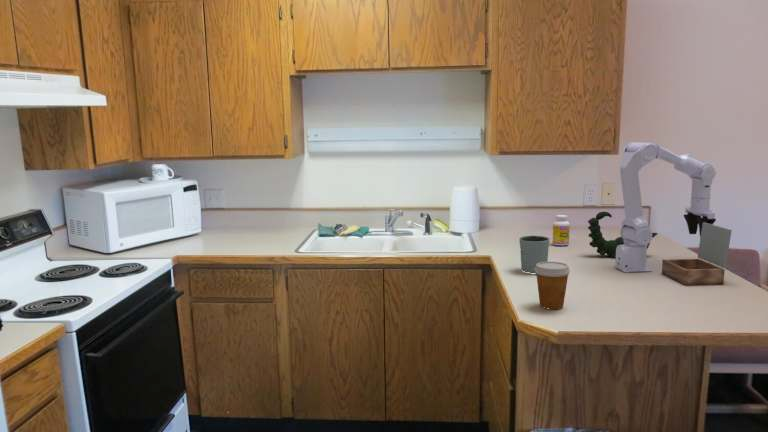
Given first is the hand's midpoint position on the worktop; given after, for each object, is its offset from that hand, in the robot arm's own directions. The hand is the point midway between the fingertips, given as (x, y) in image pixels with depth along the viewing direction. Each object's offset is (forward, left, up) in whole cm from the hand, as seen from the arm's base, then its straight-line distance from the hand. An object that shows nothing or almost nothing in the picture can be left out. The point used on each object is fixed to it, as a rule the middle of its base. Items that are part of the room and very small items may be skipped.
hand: (698, 235), depth 190 cm
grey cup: (-59, -3, -11) cm, 60 cm away
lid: (-6, -18, +1) cm, 19 cm away
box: (-12, -18, -10) cm, 24 cm away
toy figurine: (-20, +15, -11) cm, 27 cm away
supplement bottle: (-36, +38, -11) cm, 53 cm away
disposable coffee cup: (-65, -41, -11) cm, 77 cm away
